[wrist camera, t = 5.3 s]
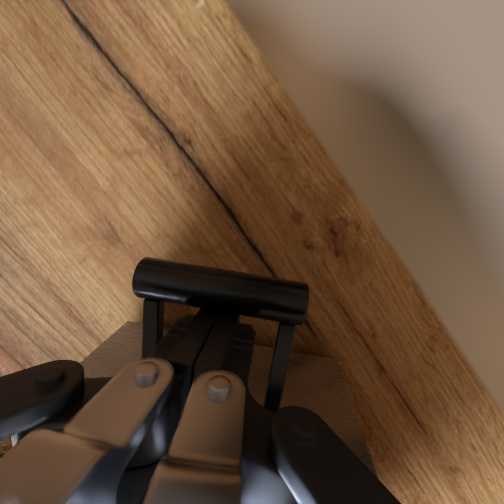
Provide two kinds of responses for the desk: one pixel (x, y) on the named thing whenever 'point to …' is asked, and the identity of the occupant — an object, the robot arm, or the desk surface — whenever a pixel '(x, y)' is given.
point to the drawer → (264, 358)
